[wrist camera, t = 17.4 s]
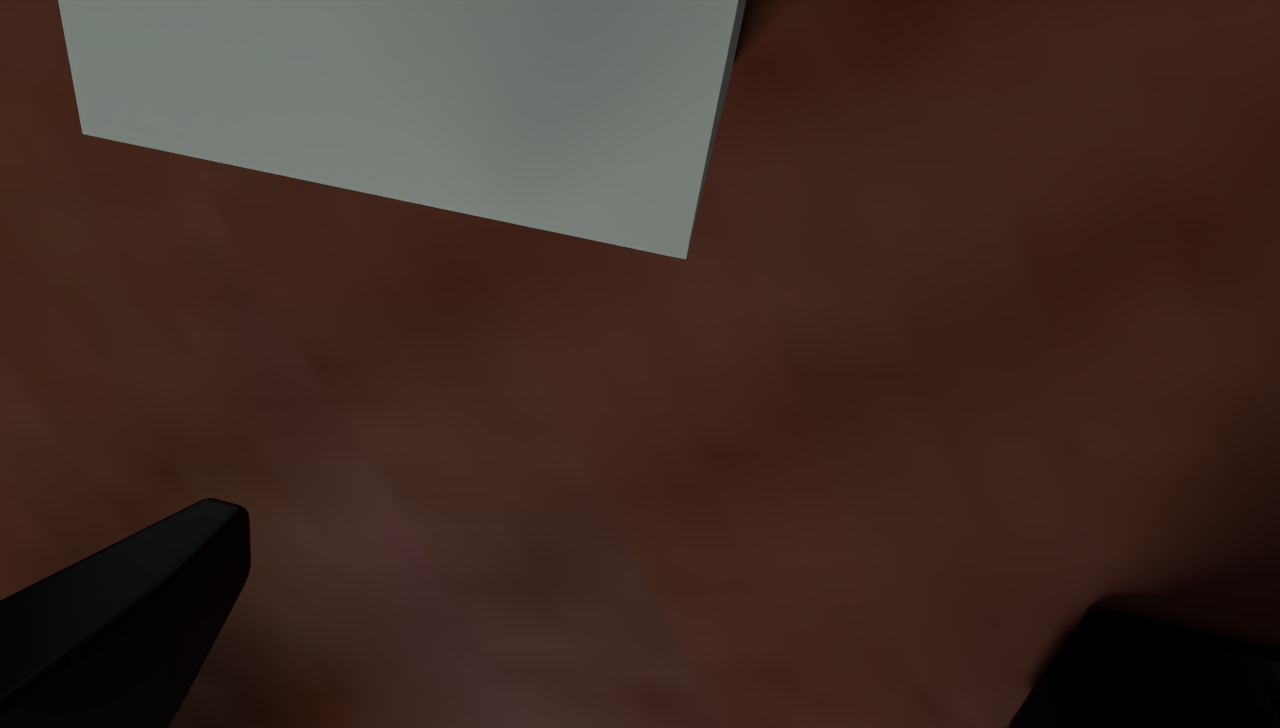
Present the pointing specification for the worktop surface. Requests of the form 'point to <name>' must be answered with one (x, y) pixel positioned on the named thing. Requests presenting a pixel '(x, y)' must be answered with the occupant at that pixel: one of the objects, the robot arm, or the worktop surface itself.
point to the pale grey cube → (430, 100)
